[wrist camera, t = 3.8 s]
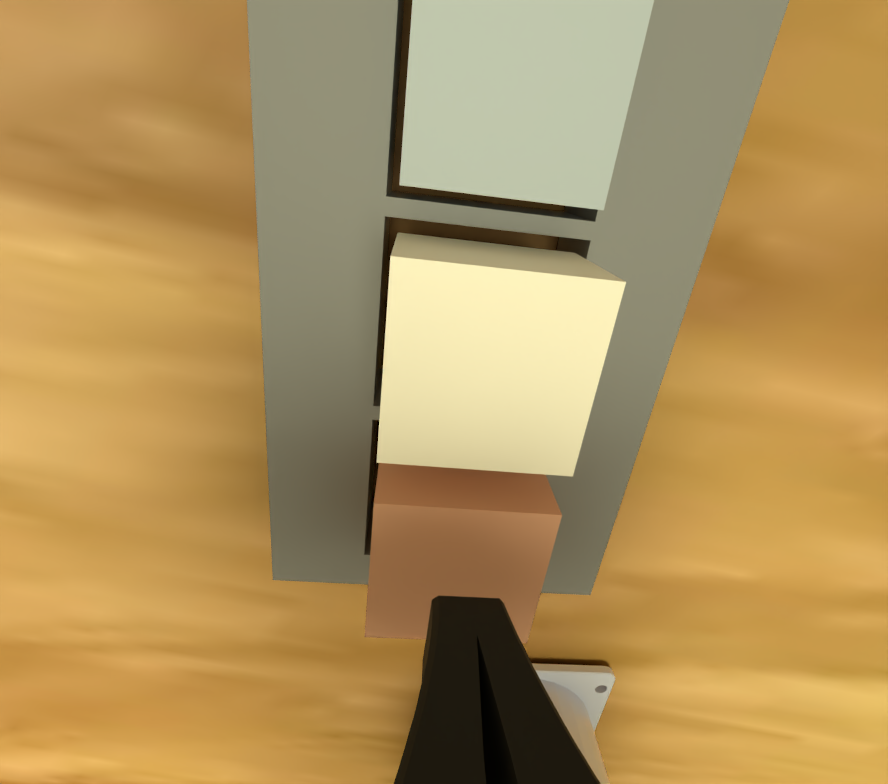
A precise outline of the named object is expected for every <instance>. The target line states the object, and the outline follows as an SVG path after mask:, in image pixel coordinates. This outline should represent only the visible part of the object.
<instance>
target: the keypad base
mask: <svg viewBox="0 0 888 784" xmlns="http://www.w3.org/2000/svg"><path fill="white" fill-rule="evenodd" d="M788 2H789V0H654V3H653V7H652V11H651V16H650V20H649V24H648V28H647V32H646V36H645V41H644V45H643V49H642V53H641V57H640V61H639V66H638V70H637V74H636V78H635V82H634V86H633V91H632V95H631V99H630V103H629V107H628V111H627V116H626V120H625V124H624V128H623V132H622V136H621V141H620V145H619V149H618V153H617V157H616V161H615V166H614V170H613V174H612V178H611V182H610V186H609V191H608V195H607V199H606V203H605V207H604V210H597V209H589V208H580V207H572V206H565V211H564V212H563V211H555V210H547V209H539V208H531V207H523V206H514V205H506V204H498V203H490V202H482V201H474V200H465V199H457V198H449V197H441V196H433V195H425V194H416V193H408V192H400V191H392V182H393V167H394V152H395V137H396V121H397V106H398V91H399V75H400V60H401V45H402V30H403V14H404V0H247V10H248V33H249V55H250V78H251V100H252V122H253V145H254V167H255V190H256V212H257V235H258V257H259V279H260V302H261V324H262V347H263V369H264V391H265V414H266V436H267V459H268V481H269V504H270V526H271V548H272V571H273V580H285V581H306V582H327V583H348V584H368V580H369V566H370V551H371V536H372V521H373V507H374V502H372V488H373V473H374V457H375V442H376V427H377V420H379V418H380V404H381V389H382V374H383V369H380V366H381V350H382V335H383V320H384V305H385V289H386V274H387V259H388V244H389V228H390V217H395V218H404V219H412V220H421V221H429V222H438V223H446V224H455V225H463V226H472V227H480V228H489V229H497V230H506V231H514V232H523V233H531V234H540V235H548V236H557V237H559V240H558V245H557V249H556V251H564V252H573V253H576V254H578V255H580V256H581V257H583V258H585V259H587V260H588V261H590V262H592V263H594V264H595V265H597V266H599V267H601V268H602V269H604V270H606V271H608V272H610V273H611V274H613V275H615V276H617V277H618V278H620V279H622V280H624V281H625V282H626V285H625V288H624V292H623V295H622V299H621V303H620V306H619V310H618V314H617V317H616V321H615V325H614V328H613V332H612V336H611V339H610V343H609V346H608V350H607V354H606V357H605V361H604V365H603V368H602V372H601V376H600V379H599V383H598V386H597V390H596V394H595V397H594V401H593V405H592V408H591V412H590V416H589V419H588V423H587V427H586V430H585V434H584V437H583V441H582V445H581V448H580V452H579V456H578V459H577V463H576V467H575V470H574V474H573V476H558V475H546V477H547V479H548V482H549V484H550V487H551V489H552V492H553V494H554V497H555V499H556V501H557V504H558V506H559V509H560V511H561V514H562V518H561V521H560V525H559V528H558V532H557V536H556V539H555V543H554V547H553V550H552V554H551V558H550V561H549V565H548V569H547V572H546V576H545V579H544V583H543V587H542V590H541V593H557V594H578V595H590V594H591V591H592V588H593V585H594V582H595V579H596V576H597V573H598V570H599V567H600V564H601V561H602V558H603V555H604V552H605V549H606V546H607V543H608V540H609V537H610V534H611V531H612V528H613V525H614V522H615V519H616V516H617V513H618V510H619V508H620V505H621V502H622V499H623V496H624V493H625V490H626V487H627V484H628V481H629V478H630V475H631V472H632V469H633V466H634V463H635V460H636V457H637V454H638V451H639V448H640V445H641V442H642V439H643V436H644V433H645V430H646V427H647V424H648V421H649V418H650V415H651V412H652V409H653V406H654V403H655V400H656V397H657V394H658V391H659V388H660V385H661V382H662V379H663V376H664V373H665V370H666V367H667V364H668V361H669V358H670V355H671V352H672V349H673V346H674V343H675V340H676V337H677V334H678V331H679V328H680V325H681V322H682V319H683V316H684V313H685V310H686V307H687V304H688V301H689V298H690V295H691V292H692V289H693V286H694V283H695V280H696V277H697V274H698V271H699V268H700V265H701V262H702V259H703V256H704V253H705V250H706V247H707V244H708V242H709V239H710V236H711V233H712V230H713V227H714V224H715V221H716V218H717V215H718V212H719V209H720V206H721V203H722V200H723V197H724V194H725V191H726V188H727V185H728V182H729V179H730V176H731V173H732V170H733V167H734V164H735V161H736V158H737V155H738V152H739V149H740V146H741V143H742V140H743V137H744V134H745V131H746V128H747V125H748V122H749V119H750V116H751V113H752V110H753V107H754V104H755V101H756V98H757V95H758V92H759V89H760V86H761V83H762V80H763V77H764V74H765V71H766V68H767V65H768V62H769V59H770V56H771V53H772V50H773V47H774V44H775V41H776V38H777V35H778V32H779V29H780V26H781V23H782V20H783V17H784V14H785V11H786V8H787V5H788Z"/></svg>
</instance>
